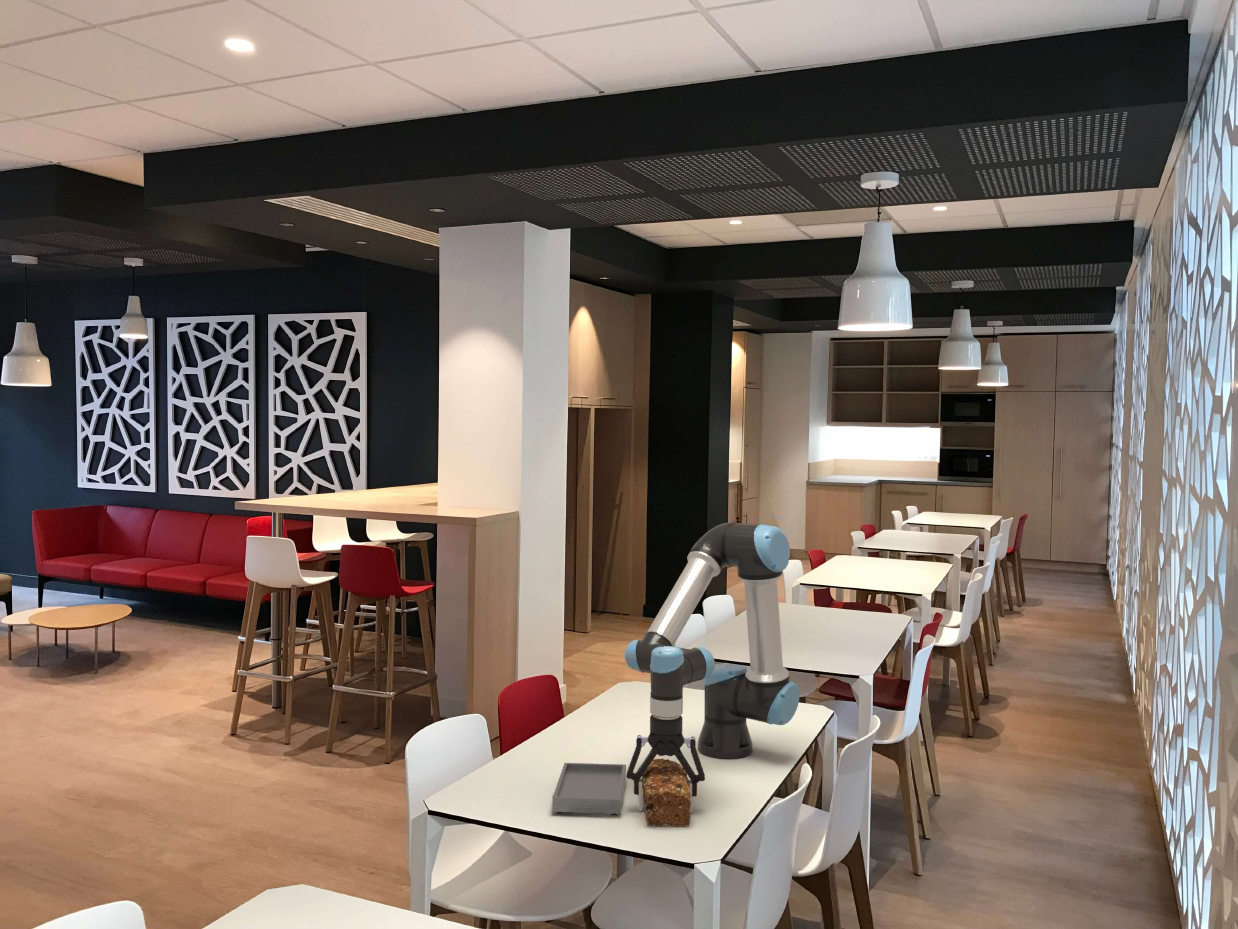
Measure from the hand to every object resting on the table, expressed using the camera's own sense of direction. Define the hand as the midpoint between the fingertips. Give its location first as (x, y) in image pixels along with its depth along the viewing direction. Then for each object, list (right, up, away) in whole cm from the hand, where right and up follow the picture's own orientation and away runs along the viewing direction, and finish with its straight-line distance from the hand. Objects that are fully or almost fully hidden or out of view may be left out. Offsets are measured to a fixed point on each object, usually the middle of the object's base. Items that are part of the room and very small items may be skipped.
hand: (665, 809), depth 223 cm
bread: (0, -1, 0) cm, 1 cm away
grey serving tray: (-17, 0, +8) cm, 19 cm away
